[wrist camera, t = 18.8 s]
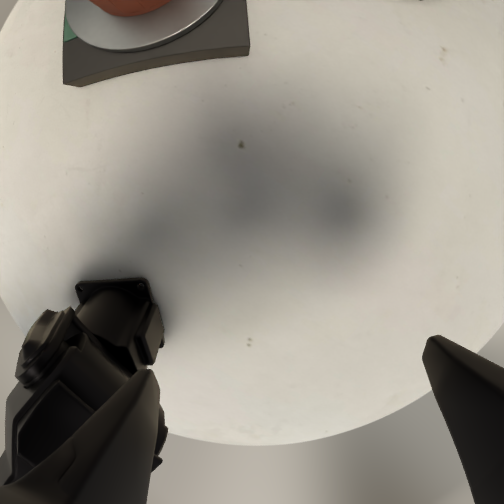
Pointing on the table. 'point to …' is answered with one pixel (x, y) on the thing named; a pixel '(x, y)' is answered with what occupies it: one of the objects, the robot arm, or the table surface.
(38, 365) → the robot arm
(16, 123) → the table surface
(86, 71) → the scale
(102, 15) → the scale pan
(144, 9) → the jar
